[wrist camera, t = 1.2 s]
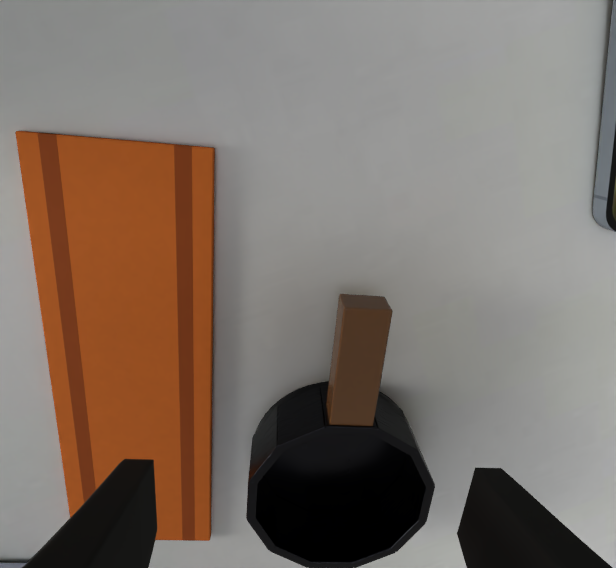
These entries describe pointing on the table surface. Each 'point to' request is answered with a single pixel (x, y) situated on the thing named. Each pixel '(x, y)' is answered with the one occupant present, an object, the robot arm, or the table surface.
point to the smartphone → (607, 142)
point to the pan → (340, 457)
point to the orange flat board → (127, 312)
